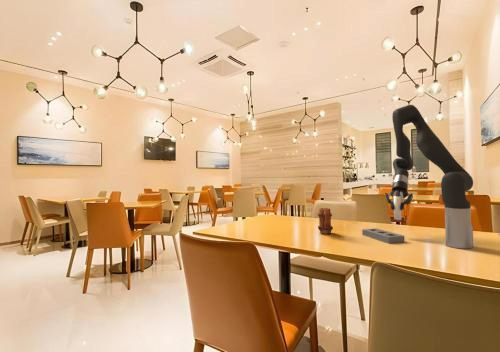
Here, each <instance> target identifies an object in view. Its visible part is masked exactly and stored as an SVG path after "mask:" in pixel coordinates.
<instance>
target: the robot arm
mask: <svg viewBox="0 0 500 352" xmlns="http://www.w3.org/2000/svg"><path fill="white" fill-rule="evenodd" d="M391 116H392V124H393V125H392V126H393V129H394V130H393V131H394V136H395V142H396V143H395V144H396V145H395V146H396V147H395V148H396V150H395V151H396V153H395V154H396V157H397V158H395V159H393V161H392V167H393V170H394V175H393V180H392V186H391V191H390V193H388V192H385V194H384V196H385V198H386V201H387V204H389V205H390V209H391V211H394V196H396V191H399V196H401V206H400V210H401V212H402V211H403V210H404V209H405V205H409V204H410V203H411V201H412V200H413V198H414V195H413V193H408V189H409V175H410V174H409V173H410V172H409V171H411V170H413V168H414V161H413V158H412V154H411V145H412V144H411V141H410V139H409V137H408V136H407V135H406V133H405V132H404V129H403V128H404V126H405V125H407V124H412V125H413V126H414V127H415V129H416V142H415V143H416V146H417V147H418V149H419V150H420V152H421V154H422V156H424V157H425V158H426V159H427V160H428V161H430V162H431V163H433V164H434V165H435V166H437V167H438V168H439V169H440V170H441V171H442V172H443V174H444V175H443V176H442V178H441V181H440V189H441V199H442V203H443V204H444V226H445V227H444V228H445V230H444V231H445V232H444V233H445V246H446V247H449V248H454V249H464V250H465V249H466V250H467V249H472V248H473V247H474V226H473V225H472V210H471V209H472V208H471V202H470V201H469V200H468V199H467V198H466V192H468V191H470V190H472V188H473V187H474V179H473V177H472V176H471V174H469V172H468V171H467V170H466V169H464V167H463V166H461V165H460V163H459V162H458V161H457V160H456V159H455V158H454V156H453V154H451V153H450V151H449V150H448V149H447V147H446V146H445V145H444V143H443V142H442V140H440V138H439V137H438V136H437V135H436V133H434V131H433V130H432V129H431V127H430V126H429V125H428V123H427V122H426V120H425V119H424V117H423V115H422V114H421V113H420V111H419V109H418V108H417V107H416V106H415V105H413V104H408V105H404V106H402V107H399V108H396V109H395V110H393V112H392V115H391ZM390 198H391V199H390Z"/></svg>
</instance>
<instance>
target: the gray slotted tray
mask: <svg viewBox="0 0 500 352" xmlns="http://www.w3.org/2000/svg"><path fill="white" fill-rule="evenodd" d="M361 230H362V231H361V233H362V234H361V235H362V236H365V237H368V238H370V239H374V240H377V241H380V242H383V243H387V244H398V243H405V242H406V241H405V240H406V239H405V235H402V234H401V233H400V234H399V233H395V232H391V231H388V230H384V229H380V228H378V227H377V228H366V229H365V228H364V229H361Z"/></svg>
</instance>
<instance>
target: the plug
mask: <svg viewBox="0 0 500 352" xmlns="http://www.w3.org/2000/svg"><path fill="white" fill-rule="evenodd" d="M400 206H401V196H399V191H396V196H394V210H393V219H394V220H397V221H402V211H401V210H400Z"/></svg>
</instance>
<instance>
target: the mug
mask: <svg viewBox="0 0 500 352" xmlns="http://www.w3.org/2000/svg"><path fill="white" fill-rule="evenodd" d="M317 216H318V224H319V225H318V226H317V229H318V230H319V233H320V234H322V235H323V234H325V235H327V234H329V235H330V234H332V231H333V229H334V227H333V226H332V219H331V218H332V216H333V214H332V212H331V209H330V208H328V207H321V208H319V209H318V213H317Z"/></svg>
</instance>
